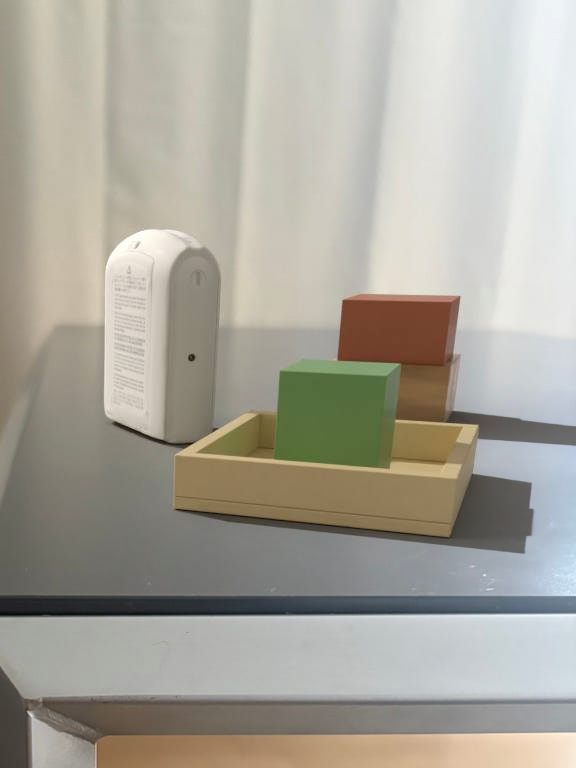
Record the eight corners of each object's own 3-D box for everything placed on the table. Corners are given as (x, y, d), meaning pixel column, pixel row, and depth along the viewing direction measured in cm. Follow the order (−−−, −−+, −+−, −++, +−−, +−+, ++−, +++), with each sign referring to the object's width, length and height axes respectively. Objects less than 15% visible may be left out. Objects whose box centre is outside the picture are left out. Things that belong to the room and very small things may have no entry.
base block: (344, 403, 76) (349, 349, 75) (453, 409, 73) (461, 353, 72) (323, 420, 69) (328, 361, 68) (442, 428, 67) (450, 366, 65)
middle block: (354, 350, 74) (359, 293, 73) (453, 354, 72) (460, 295, 70) (336, 361, 68) (342, 299, 67) (443, 365, 66) (451, 301, 64)
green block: (294, 464, 54) (302, 358, 52) (389, 472, 52) (401, 363, 50) (271, 484, 49) (279, 370, 47) (374, 493, 48) (387, 375, 45)
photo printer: (223, 441, 63) (233, 229, 58) (162, 446, 61) (167, 229, 56) (150, 415, 71) (154, 229, 67) (96, 420, 70) (95, 229, 65)
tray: (248, 454, 59) (250, 409, 58) (472, 472, 54) (479, 424, 53) (172, 508, 47) (174, 454, 46) (449, 538, 43) (457, 478, 42)
